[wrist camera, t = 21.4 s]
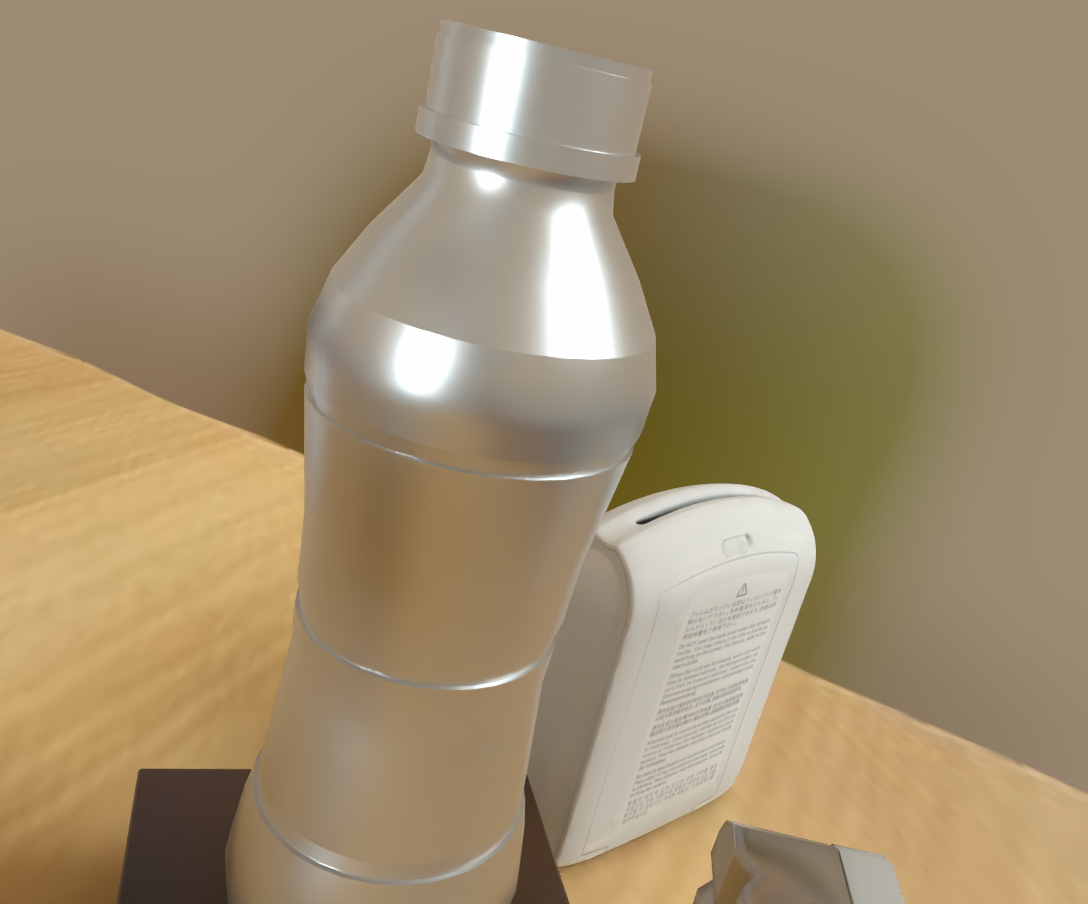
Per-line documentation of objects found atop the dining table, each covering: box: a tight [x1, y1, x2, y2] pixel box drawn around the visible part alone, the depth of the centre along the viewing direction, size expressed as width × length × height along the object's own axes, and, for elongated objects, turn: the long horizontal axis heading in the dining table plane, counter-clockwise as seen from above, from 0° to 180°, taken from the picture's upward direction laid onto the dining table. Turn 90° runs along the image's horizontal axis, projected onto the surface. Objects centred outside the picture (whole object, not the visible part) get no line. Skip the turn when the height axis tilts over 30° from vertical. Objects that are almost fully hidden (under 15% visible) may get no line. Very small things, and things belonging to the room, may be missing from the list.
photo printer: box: [527, 484, 816, 867], centre depth 34 cm, size 10×4×12 cm, turn 130°
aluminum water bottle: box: [225, 19, 656, 904], centre depth 20 cm, size 6×7×20 cm
